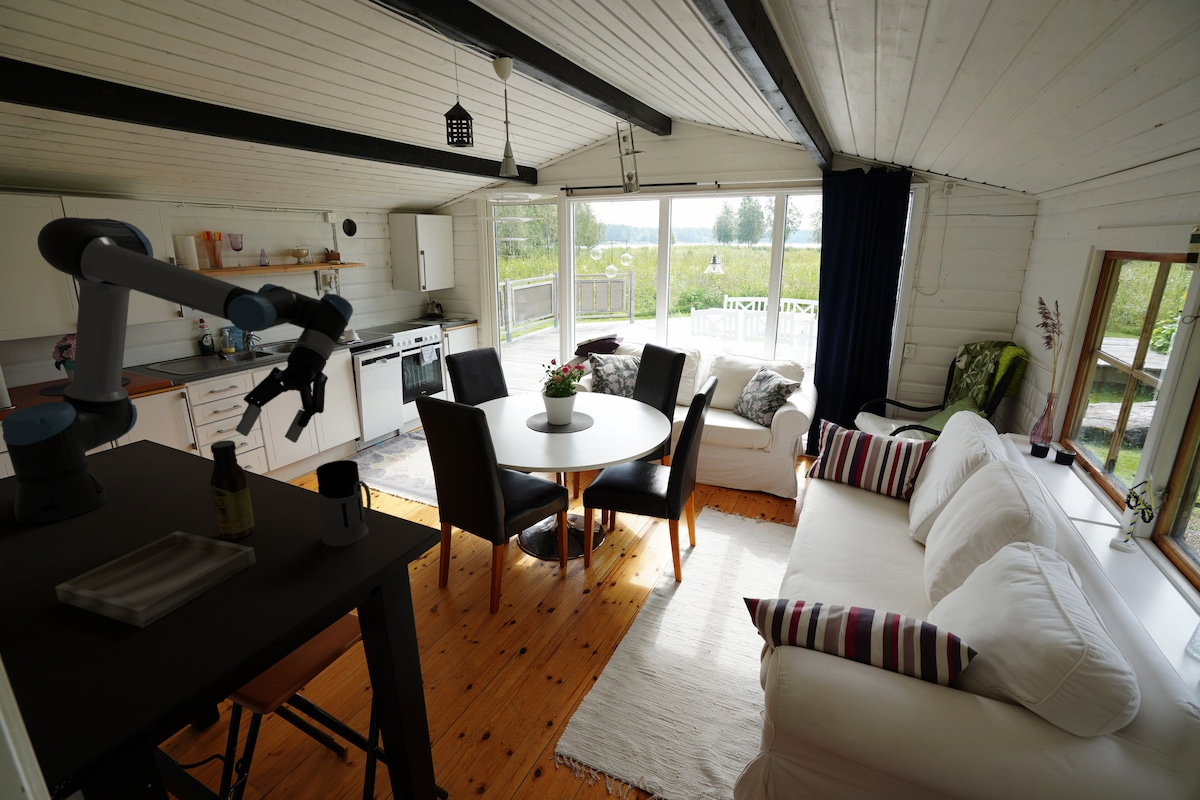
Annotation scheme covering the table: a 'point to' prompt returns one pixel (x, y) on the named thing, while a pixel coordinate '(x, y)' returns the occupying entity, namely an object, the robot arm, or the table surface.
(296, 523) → the table surface
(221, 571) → the birch tray
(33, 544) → the table surface
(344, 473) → the glass holder
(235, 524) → the sauce bottle
